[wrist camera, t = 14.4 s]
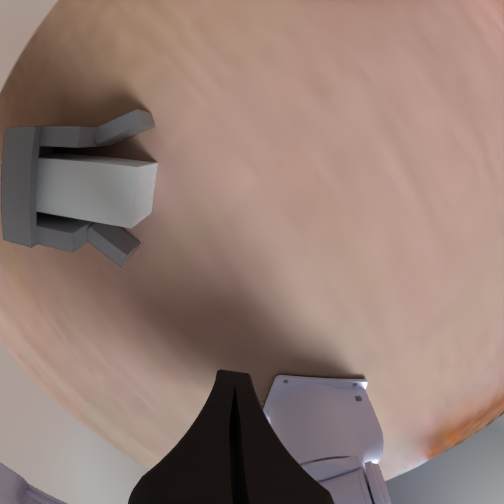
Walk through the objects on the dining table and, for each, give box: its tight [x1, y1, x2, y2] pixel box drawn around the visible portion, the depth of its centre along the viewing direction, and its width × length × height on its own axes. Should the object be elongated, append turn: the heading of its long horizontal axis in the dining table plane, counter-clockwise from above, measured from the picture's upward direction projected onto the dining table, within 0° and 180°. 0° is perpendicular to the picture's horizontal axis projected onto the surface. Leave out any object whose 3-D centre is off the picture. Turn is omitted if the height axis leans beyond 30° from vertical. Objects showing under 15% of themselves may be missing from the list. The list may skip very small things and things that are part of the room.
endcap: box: [1, 109, 155, 267], centre depth 15 cm, size 10×10×5 cm
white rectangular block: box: [36, 153, 158, 229], centre depth 16 cm, size 9×4×4 cm, turn 78°
